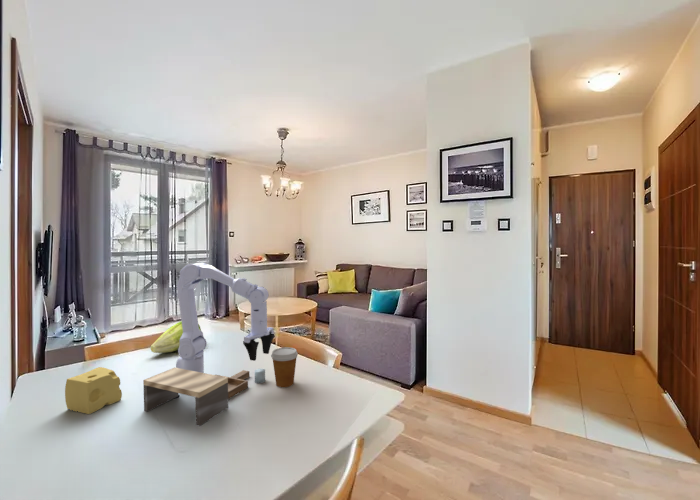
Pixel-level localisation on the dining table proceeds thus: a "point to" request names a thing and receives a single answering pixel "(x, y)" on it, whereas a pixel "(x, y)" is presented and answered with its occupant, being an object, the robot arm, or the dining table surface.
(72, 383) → the cheese
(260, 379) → the pale blue capsule
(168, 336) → the lettuce
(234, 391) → the tray
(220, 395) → the counter shelf
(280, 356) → the disposable coffee cup
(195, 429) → the dining table surface
